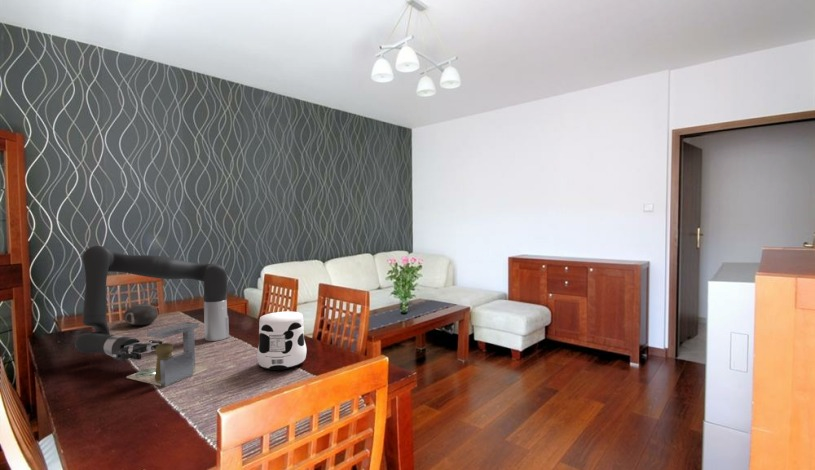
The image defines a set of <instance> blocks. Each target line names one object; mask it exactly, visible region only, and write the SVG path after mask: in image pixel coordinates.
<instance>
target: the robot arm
mask: <svg viewBox="0 0 815 470" xmlns="http://www.w3.org/2000/svg"><path fill="white" fill-rule="evenodd" d="M81 259H82V262H83V266H84V272H85V291H84V300H83V310H82V311H83V312H82V324H83V325H84V326H87V327H92V328H93V329H94V330H95V331H93V332H84V333H81V334H79V335H78V336H77V337H76V338H75V340H74V347H75V349H76V350H77V351H78V352H80V353H83V354H103V355H105V356H106V355H107V356H110V357H112V359H113V360H117V361H120V362H124V361H126V360H135V361H140V360H142V355H143V354H149V353H151V352H155V349H156V347H157V346H158V345H160V344H164V343H163V341H162V340H154V339H149V340H148V342H143V341H140V340H139V339H138V338H137V337H133V336H132V337H131V336H125V335H118V334H117V335H116V334H111V332H110V330H109V326H108V322H107V314H108V313H107V307H108V299H107V297H108V296H107V295H108V294H107V279H108V272H113V273H125V274H130V275H131V274H132V275H136V276H140V277H141V276H142V277H147V278H154V279H162V280H185V279H186V280H188V279H189V280H194V281H200V282H203V313H204V314H203V315H204V318H203V319H204V340H205V341H206V342H216V341H217V342H218V341H222V340H225V339H228V338H230V331H229V330H230V328H229V327H230V326H229V325H230V323H229V322H230V321H229V315H228V303H227V301H228V300H227V299H228V298H227V296H228V273H227V271H226V269H225V267H223V266H222V265H220V264H218V263H199V262H192V261H187V260H183V259H180V258H179V259H178V258H173V257H169V256H168V257H167V256H163V255H151V254H139V255H138V254H134V255H133V254H124V253H121V252H120V253H119V252H114V251H111V250H110V249H108V248H107V247H105V246H102V245H93V246H90V247H88V248H86V250H85V251H84V252H83V255H82V258H81ZM147 348H148V349H147Z"/></svg>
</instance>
